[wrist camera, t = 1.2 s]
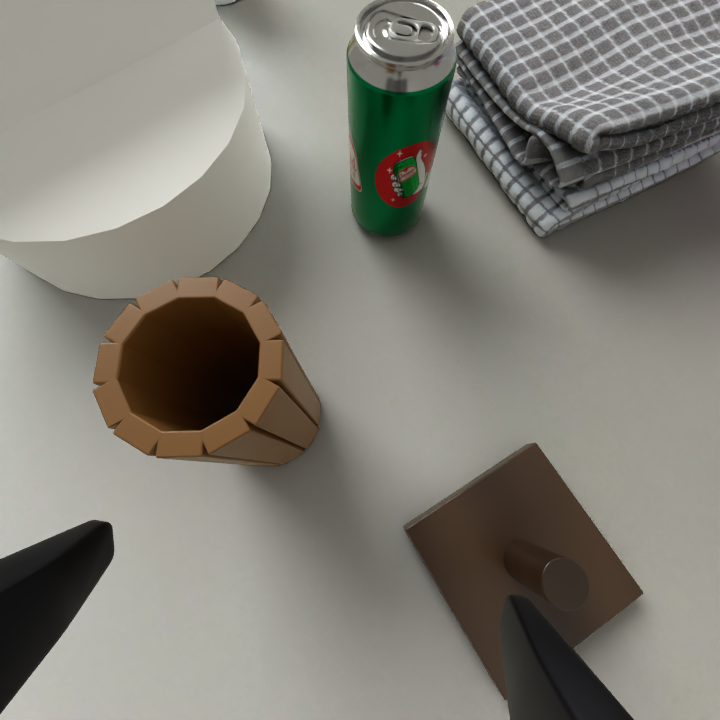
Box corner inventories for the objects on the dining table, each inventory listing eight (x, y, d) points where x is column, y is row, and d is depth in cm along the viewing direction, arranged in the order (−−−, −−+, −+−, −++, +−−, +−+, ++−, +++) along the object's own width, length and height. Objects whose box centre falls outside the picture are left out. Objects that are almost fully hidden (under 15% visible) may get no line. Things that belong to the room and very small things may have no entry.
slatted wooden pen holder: (249, 485, 23) (135, 497, 11) (207, 399, 24) (67, 330, 13) (338, 432, 23) (317, 392, 12) (291, 352, 25) (233, 247, 13)
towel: (729, 156, 29) (857, 46, 22) (527, 247, 27) (591, 160, 20) (610, 29, 33) (683, -102, 26) (424, 99, 31) (444, -21, 23)
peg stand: (497, 688, 20) (549, 770, 14) (402, 526, 22) (416, 543, 16) (629, 586, 21) (723, 626, 16) (527, 443, 23) (578, 434, 18)
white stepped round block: (79, 357, 25) (-219, 233, 12) (-43, 162, 29) (-355, -80, 16) (325, 194, 28) (296, -35, 16) (183, 42, 33) (70, -233, 20)
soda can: (362, 175, 29) (363, -22, 17) (427, 190, 28) (473, -2, 17) (343, 231, 28) (331, 57, 16) (411, 248, 27) (450, 81, 16)
